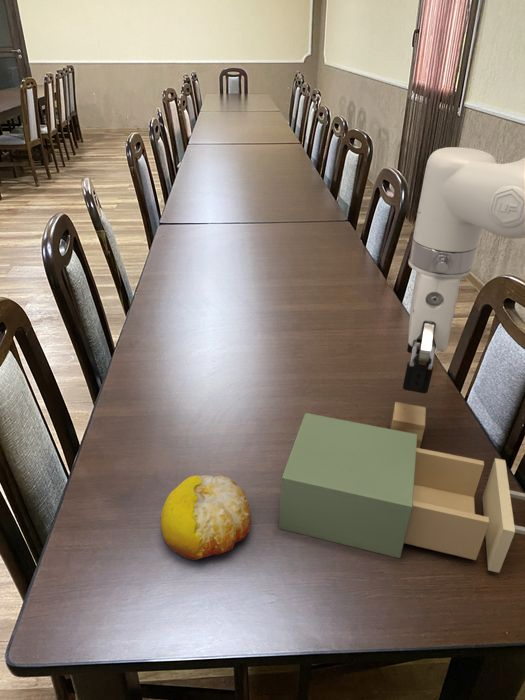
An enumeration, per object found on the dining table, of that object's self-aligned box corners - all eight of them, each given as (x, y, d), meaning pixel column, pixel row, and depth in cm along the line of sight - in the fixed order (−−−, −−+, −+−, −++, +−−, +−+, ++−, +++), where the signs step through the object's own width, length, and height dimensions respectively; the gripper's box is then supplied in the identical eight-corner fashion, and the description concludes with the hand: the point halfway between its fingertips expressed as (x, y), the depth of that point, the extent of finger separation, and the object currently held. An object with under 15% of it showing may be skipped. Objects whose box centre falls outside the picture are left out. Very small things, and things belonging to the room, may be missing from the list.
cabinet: (406, 483, 73) (417, 434, 68) (400, 558, 62) (412, 506, 58) (301, 460, 76) (305, 412, 72) (278, 528, 66) (281, 477, 61)
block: (420, 430, 82) (426, 407, 80) (419, 449, 79) (425, 425, 76) (391, 425, 83) (395, 401, 81) (388, 443, 80) (393, 419, 77)
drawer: (539, 509, 68) (555, 470, 65) (554, 586, 59) (574, 545, 55) (386, 476, 72) (393, 438, 69) (377, 543, 63) (385, 502, 60)
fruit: (232, 581, 59) (210, 528, 56) (156, 567, 64) (132, 517, 60) (270, 508, 68) (253, 458, 64) (201, 500, 73) (182, 453, 69)
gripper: (476, 288, 58) (444, 413, 67) (470, 236, 72) (444, 345, 81) (406, 278, 60) (383, 401, 69) (413, 229, 74) (394, 337, 83)
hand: (416, 370), depth 75 cm, fingers open, 9 cm apart
